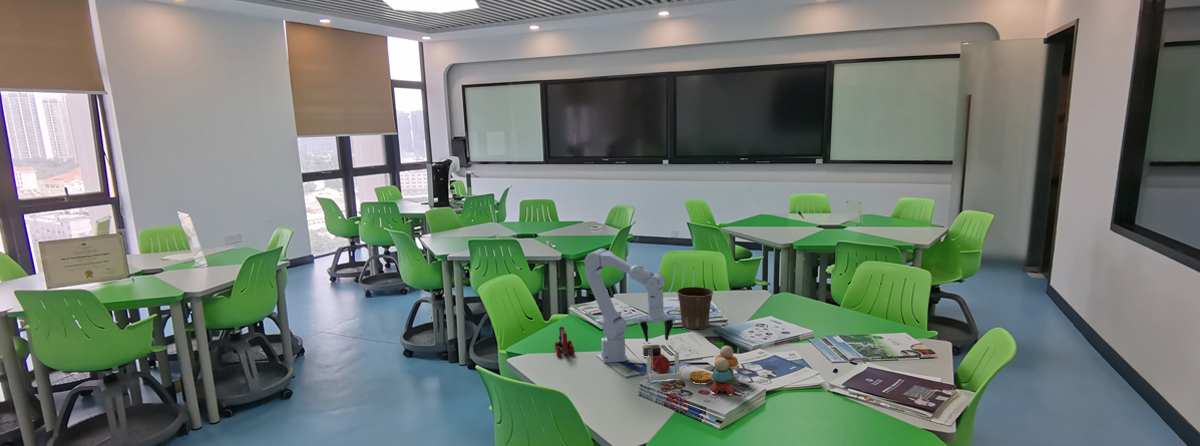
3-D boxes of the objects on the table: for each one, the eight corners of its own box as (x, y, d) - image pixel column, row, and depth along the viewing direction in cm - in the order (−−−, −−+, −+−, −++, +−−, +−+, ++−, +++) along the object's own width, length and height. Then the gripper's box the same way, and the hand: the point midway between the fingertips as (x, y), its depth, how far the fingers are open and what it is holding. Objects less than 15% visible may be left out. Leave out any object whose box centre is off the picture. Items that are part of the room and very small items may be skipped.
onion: (652, 372, 219) (652, 351, 218) (667, 370, 220) (667, 350, 219) (656, 378, 214) (656, 357, 212) (672, 376, 214) (671, 356, 213)
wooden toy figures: (688, 374, 216) (688, 342, 214) (736, 374, 214) (736, 342, 212) (691, 396, 198) (691, 361, 196) (744, 397, 197) (743, 361, 195)
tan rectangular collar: (644, 357, 233) (644, 348, 233) (643, 355, 236) (642, 345, 235) (659, 356, 234) (659, 346, 234) (658, 354, 237) (658, 344, 236)
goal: (649, 383, 210) (648, 361, 209) (646, 377, 215) (646, 356, 214) (682, 380, 211) (681, 358, 210) (678, 374, 216) (678, 353, 215)
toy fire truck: (570, 346, 249) (569, 323, 247) (575, 357, 237) (573, 332, 235) (554, 348, 248) (552, 324, 246) (557, 359, 236) (556, 334, 234)
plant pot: (718, 322, 271) (718, 288, 269) (705, 333, 258) (704, 298, 255) (686, 318, 280) (685, 285, 277) (671, 328, 266) (670, 293, 264)
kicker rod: (652, 369, 221) (652, 352, 220) (642, 351, 240) (642, 335, 239) (665, 368, 222) (664, 351, 221) (654, 350, 240) (653, 334, 239)
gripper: (638, 310, 217) (639, 345, 220) (677, 307, 219) (677, 342, 221) (635, 304, 224) (636, 338, 227) (672, 302, 226) (673, 336, 228)
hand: (656, 340), depth 224 cm, fingers open, 7 cm apart
